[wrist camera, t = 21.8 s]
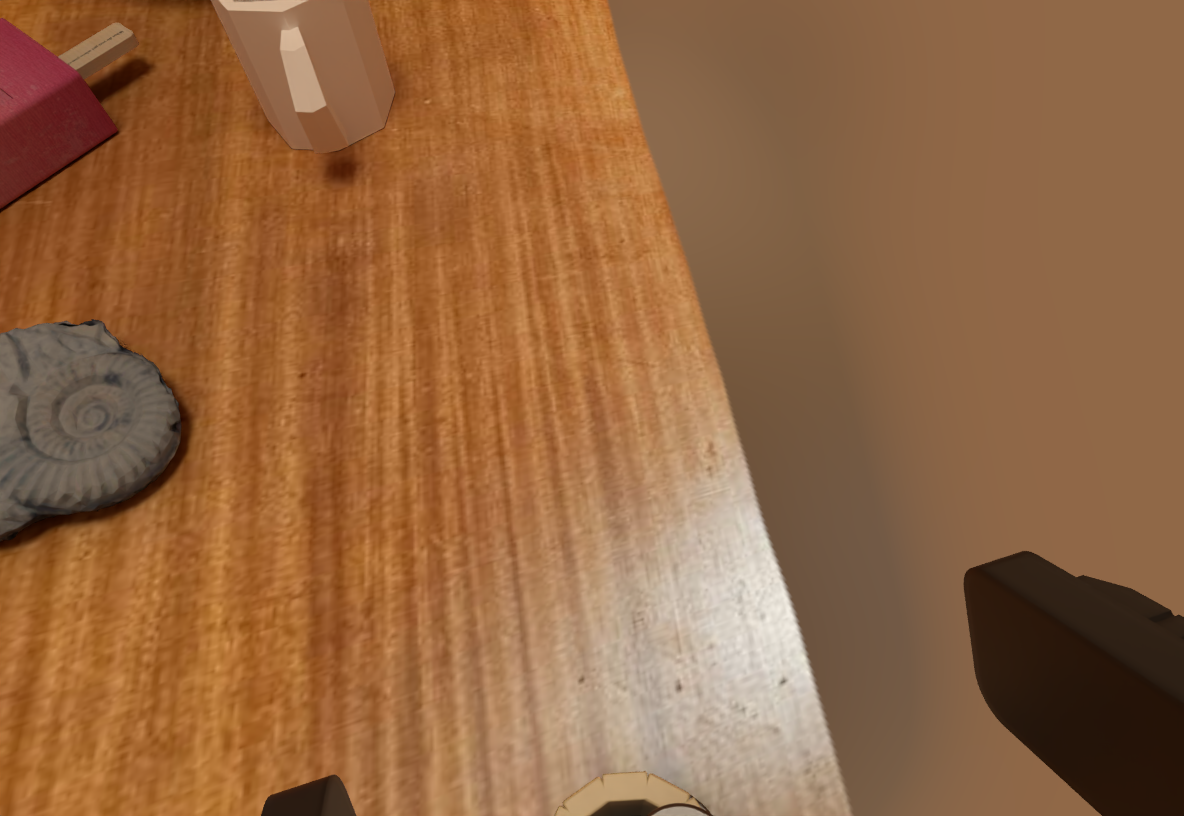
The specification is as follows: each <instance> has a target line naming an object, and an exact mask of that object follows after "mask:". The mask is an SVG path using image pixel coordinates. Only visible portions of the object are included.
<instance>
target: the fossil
mask: <svg viewBox="0 0 1184 816" xmlns="http://www.w3.org/2000/svg"><path fill="white" fill-rule="evenodd" d="M141 355H142V354H141ZM141 355H139V354H138V353H135V352H134V353H133V352H132V351H130V350H127V349H125V348H124V347H122V346H121V345H119V342H118V340H117V339H116V337H114V336H112V335H111V333H110V332H109V331H108V330H107V329H106V327H105V324H104V323H103V322H102V321H99V320H94V319H92V321H87V322H84V323H81V324H80V325H75V324H71V323H69V322H68V321H64V322H59V323H53V324H50V323H44V324H38V325H35V326H32V327H29V328H27V329H18V328H15V329H13V330H11V331H9V332H6V333H1V334H0V541H2V540H11V539H13V538H14V537H16V535H17V533H18V532H19V531H21V530H23V529H24V528H26V527H27V526H29V525H31V524H33V523H36V522H37V521H39V520H43V519H45V518H49V517H55V516H56V515H61V514H63V515H65V514H66V515H70V514H72V513H77V512H85V511H98V510H99V509H102V508H105V507H109V506H113V505H115V504H117V503H121V502H122V501H125V500H127V499H130V498H131V497H132V496H134V495H135V494H137V493H138V492H140V491H141V490H143V489H145V488H146V487H147V486H148V485H149V484H150V483H151V482H153V481H155V480H156V479H157V478H158V477H159V476H160V475H161V474H162V472H163V471H164V470H165V469H166V467H167V465H168V464H169V462H170V460H171V459H172V458H173V457H174V455H175V453H176V451H177V448H178V446H179V444H180V437H181V420H180V413H179V408H178V405H179V404H178V402H177V400H176V399H175V398H174V396H173V393H172V390H171V388H168V387H167V385H166V384H165V382H164V381H163V379H162V376H161V374H160V371H159V369H158V368H157V366H156V365H155V364H154V363H153V362H151V361H149V360H147V359H146V358H145V357H143V355H142V356H141Z"/></svg>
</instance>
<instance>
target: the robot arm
mask: <svg viewBox="0 0 1184 816" xmlns="http://www.w3.org/2000/svg"><path fill="white" fill-rule="evenodd" d="M964 593H965V601H966V608H967V615H968V623H969V631H970V637H971V645H972V653H973V661H974V668H975V674H976V679H977V682H978V685H979V688H980V690H981V693H982V695H983V697H984V699H985V701H986V703H987V704H988V706H989V708H990V709H991V711H992V712H993V714H994V715H995V716H996V718H997V719H998V720H999V721H1000V722H1001V723H1002V724H1003V725H1004V726H1005V727H1006V728H1007V729H1008V730H1009V731H1010V732H1011V733H1012V734H1014V735H1015V736H1016V737H1017V738H1018V739H1019V740H1020V741H1021V742H1022V743H1023V744H1024V745H1026V746H1027V747H1028V748H1029V749H1030V750H1031V751H1032V752H1033V753H1034V754H1035V755H1036V756H1038V757H1039V758H1040V759H1041V760H1042V761H1043V762H1044V763H1045V764H1046V765H1047V766H1048V767H1050V768H1051V769H1052V770H1053V771H1054V772H1055V773H1056V774H1057V775H1058V776H1059V777H1060V778H1061V779H1063V780H1064V781H1065V782H1066V783H1067V784H1068V785H1069V786H1070V787H1071V788H1072V789H1073V790H1075V791H1076V792H1077V793H1078V794H1079V795H1080V796H1081V797H1082V798H1083V799H1084V800H1085V801H1087V802H1088V803H1089V804H1090V805H1091V806H1092V807H1093V808H1094V809H1095V810H1096V811H1097V812H1099V813H1100V814H1101V815H1102V816H1184V617H1182V616H1180V615H1177V616H1174V615H1173V614H1172V612H1171V610H1169V609H1168V608H1165V607H1164V606H1162V605H1160V604H1158V603H1157V602H1155V601H1153V600H1151V599H1149V598H1148V597H1146V596H1144V595H1142V594H1140V593H1138V592H1137V591H1135V590H1133V589H1131V588H1127V587H1124V586H1120V585H1117V584H1112V583H1109V582H1106V581H1102V580H1099V579H1095V578H1091V577H1087V576H1084V575H1082V576H1079V577H1075V576H1073V575H1071V574H1069V573H1068V572H1066V571H1064V570H1063V569H1060V568H1059V567H1057V566H1056V565H1054V564H1052V563H1050V562H1049V561H1047V560H1045V559H1043V558H1042V557H1040V556H1038V555H1036V554H1034V553H1032V552H1029V551H1022V552H1019V553H1016V554H1013V555H1010V556H1007V557H1004V558H1000V559H997V560H994V561H992V562H988V563H985V564H982V565H979V566H976V567H973V568H970V569H969V570H968V571H967V572H966V574H965V577H964ZM261 816H356V814H355V811H354V809H353V806H352V804H351V801H350V798H349V796H348V793H347V791H346V789H345V786H344V784H343V783H342V781H341V780H340V778H339V777H338V776H337V775H331V776H328V777H325V778H322V779H319V780H315V781H312V782H309V783H306V784H303V785H300V786H297V787H294V788H291V789H288V790H285V791H282V792H279V793H276V794H273V795H270V796H269V797H268V798H267V800H266V802H265V804H264V807H263V811H262V814H261Z"/></svg>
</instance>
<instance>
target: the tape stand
mask: <svg viewBox="0 0 1184 816" xmlns="http://www.w3.org/2000/svg"><path fill="white" fill-rule="evenodd" d="M691 798H693V796H691V795H690V798H689V799H691ZM695 799H696V798H695ZM696 801H697V802H698V804H699V805H700V807H701V808H700V807H698V806H695V805H691V804H686V803H672V804H667V805H664V806H661V807H659V808H657V809H655V810H654V811H652V812H650V813H649V814H648V815H647V816H713V815H712V814H711V813H710V812H709V811H708V809H707V808H706V807H705V806H704V805H703V804H702V803H701V802H699V801H698V800H697V799H696Z"/></svg>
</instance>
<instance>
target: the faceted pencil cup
mask: <svg viewBox="0 0 1184 816" xmlns="http://www.w3.org/2000/svg"><path fill="white" fill-rule="evenodd" d="M602 778H603V781H602V779H601V778H600V777H596V778H595V779H594V780H592V781H591V782H589V783H588V784H587V785H585V786H584V787H582V788H581V789H580V790H578V791H577V792H576V793H574V794H573V795H571V796H570V797H569V798H567V799H566V800H564V802H563V806H564V807H562V806H559V807H558V809H557V811H556V813H555V815H554V816H647V815H648V814H649V813H650V812H652V811H654V810H655V809H657V808H659V807H661V806H664V805H667V804H672V803H686V804H691V805H695V806H698V807H700V805H699V804H698V802H697V801H696V799H695V798H694V797H693V798H691V799H689V798H690V794H689V793H688V792H686V791H684V790H682V789H680V788H679V787H677V786H675V785H673V784H671V783H669V782H667V781H666V780H664V779H662V778H660V777H658V776H656V775H654V774H651V773H650V774H649V775H648V778H647V772H645V771H643V772H628V773H612V774H603V776H602ZM700 808H701V807H700Z"/></svg>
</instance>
